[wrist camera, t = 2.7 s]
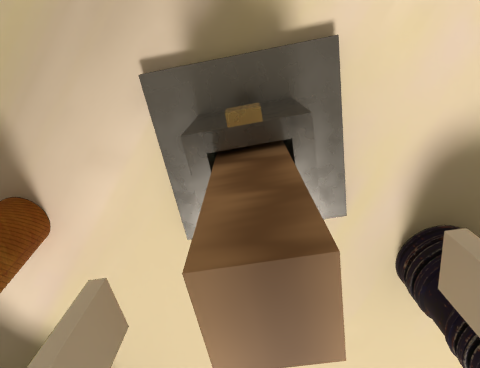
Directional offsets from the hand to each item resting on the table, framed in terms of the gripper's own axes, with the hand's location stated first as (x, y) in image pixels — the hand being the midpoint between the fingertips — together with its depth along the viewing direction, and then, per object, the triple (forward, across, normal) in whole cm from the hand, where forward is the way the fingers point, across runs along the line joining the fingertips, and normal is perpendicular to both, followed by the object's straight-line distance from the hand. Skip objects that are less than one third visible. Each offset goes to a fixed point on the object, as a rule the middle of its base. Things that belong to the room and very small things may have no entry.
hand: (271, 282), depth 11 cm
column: (+18, 0, 0) cm, 18 cm away
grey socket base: (+20, 0, 0) cm, 20 cm away
